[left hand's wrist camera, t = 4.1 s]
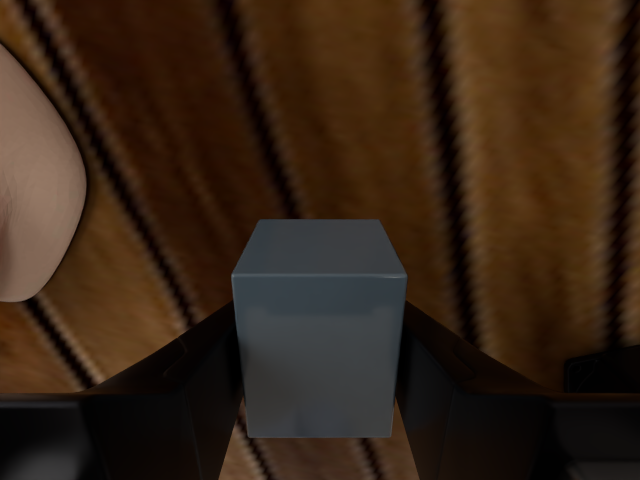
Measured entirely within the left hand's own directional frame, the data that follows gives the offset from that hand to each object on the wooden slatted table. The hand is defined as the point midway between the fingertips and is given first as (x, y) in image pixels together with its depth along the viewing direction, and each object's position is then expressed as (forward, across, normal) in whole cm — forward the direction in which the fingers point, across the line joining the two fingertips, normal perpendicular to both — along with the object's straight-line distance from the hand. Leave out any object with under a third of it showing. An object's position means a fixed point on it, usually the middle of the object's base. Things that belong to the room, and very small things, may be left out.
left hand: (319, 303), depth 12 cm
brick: (+1, 0, 0) cm, 1 cm away
